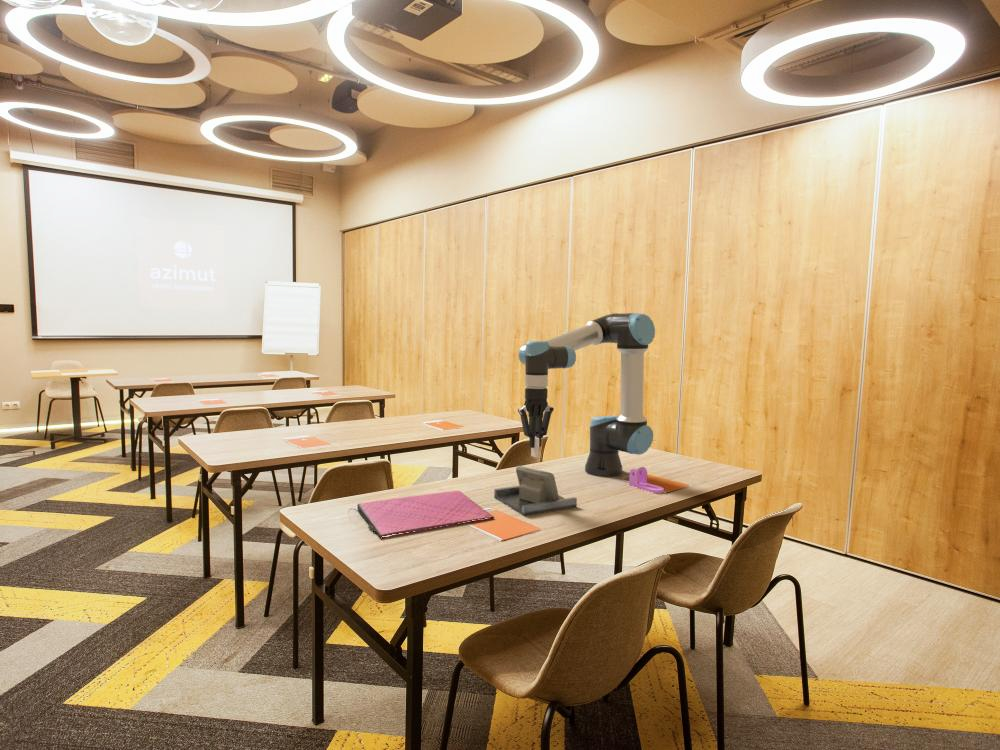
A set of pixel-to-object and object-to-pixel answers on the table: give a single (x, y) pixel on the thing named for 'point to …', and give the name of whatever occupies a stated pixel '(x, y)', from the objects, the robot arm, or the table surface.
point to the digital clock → (536, 485)
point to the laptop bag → (420, 512)
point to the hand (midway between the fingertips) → (535, 456)
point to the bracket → (642, 481)
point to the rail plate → (529, 508)
